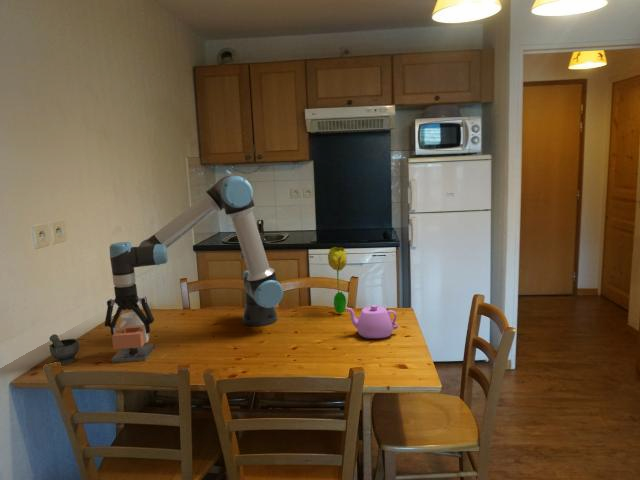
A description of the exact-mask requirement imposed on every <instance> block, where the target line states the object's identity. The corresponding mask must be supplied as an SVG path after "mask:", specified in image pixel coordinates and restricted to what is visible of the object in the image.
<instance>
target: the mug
mask: <svg viewBox="0 0 640 480" xmlns="http://www.w3.org/2000/svg"><path fill="white" fill-rule="evenodd" d="M120 320H121V321H120V325H119V326H118V330H119V329H120V328H121V327H123V326H139V325H144V323H143V322H142V321H141V319H140V318H139V317H138V315H137V314H136V313H135V312H134V311H129V312H126V313H123V314H120Z"/></svg>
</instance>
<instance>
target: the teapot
mask: <svg viewBox="0 0 640 480" xmlns="http://www.w3.org/2000/svg"><path fill="white" fill-rule="evenodd" d="M345 310H347V311H348V312H349V314H350V320H351V323H352V325H353V327H355V328H356V329H357V332H358V335H359V336H361V337H362V338H365V339H369V340H370V339H385V338H388V337H390V336H391V335H392V333H393V330H397V329H398V328H399V325H398V323H396V321H397V319H398V318H397V316H398V315H397V312H396V311H394V310H392V309H389V310H387V308H386V307H383V306H378V304H371V305H370V306H367V307H363V308H362V310H361V312H360V315H359V316H358V318H357V317H356V316H355V311H354V310H353V308H351V307H347V306H346V307H345ZM390 313H391V314H393V315H394V316H393V320H392V317H391V315H390Z"/></svg>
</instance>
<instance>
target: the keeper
mask: <svg viewBox="0 0 640 480" xmlns="http://www.w3.org/2000/svg"><path fill="white" fill-rule="evenodd" d="M153 349H154V350H155V349H156V345H155V344H154V343H153V344H144V345H143V346H142V347H137V348H122V349H118V351H117V352H116V353H115V355H113V356H112V357H111V359H110V360H111V363H112V364H116V363H115V362H119V363H126V362H125V361H132V362H136V361H135V360H145V361H146V360H147V359H148V358H149V356H150V355H151V354H152V352H153V351H154V350H153ZM152 350H153V351H152ZM150 353H151V354H150ZM149 354H150V355H149ZM147 357H148V358H147ZM146 358H147V359H146Z"/></svg>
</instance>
